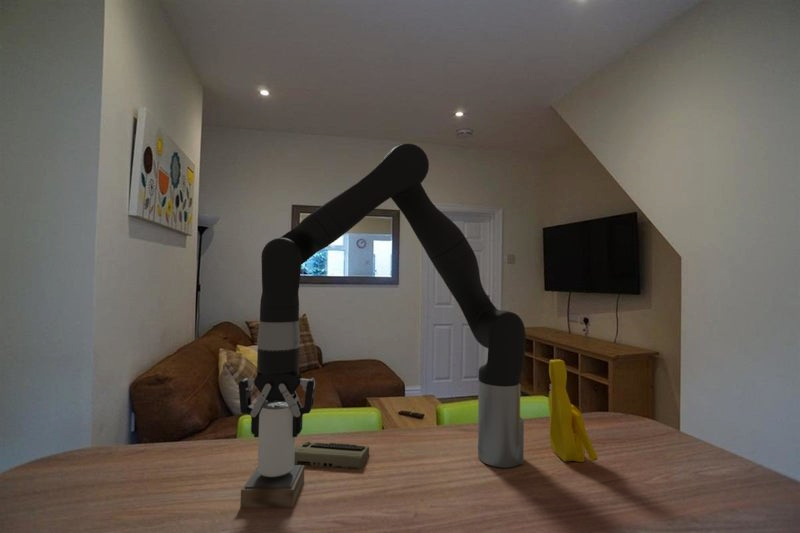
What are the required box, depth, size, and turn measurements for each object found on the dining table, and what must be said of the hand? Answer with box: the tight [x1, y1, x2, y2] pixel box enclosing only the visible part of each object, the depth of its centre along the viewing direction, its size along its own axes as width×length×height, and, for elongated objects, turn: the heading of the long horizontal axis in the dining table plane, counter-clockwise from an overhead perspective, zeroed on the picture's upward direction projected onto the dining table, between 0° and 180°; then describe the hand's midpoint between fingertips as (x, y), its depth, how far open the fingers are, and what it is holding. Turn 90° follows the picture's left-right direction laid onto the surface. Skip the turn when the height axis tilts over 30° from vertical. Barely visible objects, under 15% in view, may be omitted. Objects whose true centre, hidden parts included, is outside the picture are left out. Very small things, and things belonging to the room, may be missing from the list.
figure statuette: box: [547, 358, 599, 463], centre depth 88 cm, size 18×8×22 cm, turn 4°
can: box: [257, 400, 296, 477], centre depth 71 cm, size 6×6×12 cm
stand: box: [239, 464, 306, 509], centre depth 71 cm, size 9×9×3 cm
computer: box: [294, 440, 370, 471], centre depth 85 cm, size 16×8×3 cm, turn 83°
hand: (276, 435), depth 71 cm, fingers closed on can, 6 cm apart
